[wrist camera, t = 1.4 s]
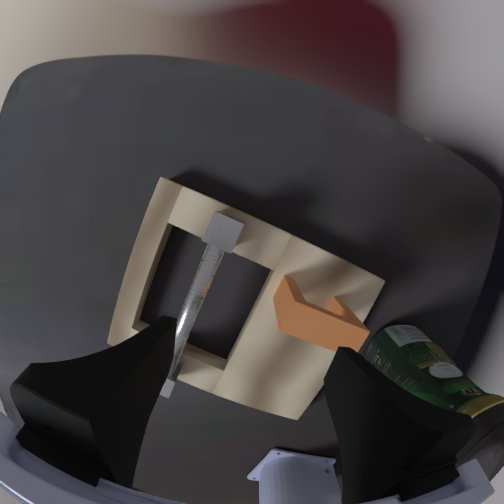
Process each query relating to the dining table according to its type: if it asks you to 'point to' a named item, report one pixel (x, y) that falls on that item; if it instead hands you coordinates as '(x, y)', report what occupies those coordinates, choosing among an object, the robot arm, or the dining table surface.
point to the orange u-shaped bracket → (317, 319)
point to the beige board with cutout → (262, 313)
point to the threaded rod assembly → (202, 284)
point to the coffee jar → (441, 389)
